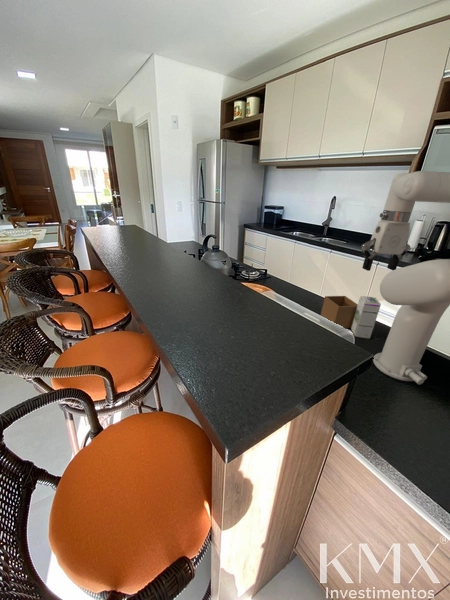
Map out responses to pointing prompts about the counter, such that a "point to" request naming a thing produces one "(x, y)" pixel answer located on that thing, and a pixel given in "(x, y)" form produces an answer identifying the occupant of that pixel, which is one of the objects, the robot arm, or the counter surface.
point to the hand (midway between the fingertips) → (378, 269)
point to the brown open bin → (339, 310)
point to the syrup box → (365, 317)
